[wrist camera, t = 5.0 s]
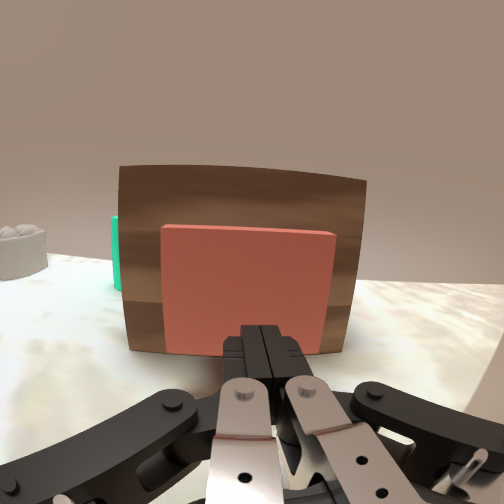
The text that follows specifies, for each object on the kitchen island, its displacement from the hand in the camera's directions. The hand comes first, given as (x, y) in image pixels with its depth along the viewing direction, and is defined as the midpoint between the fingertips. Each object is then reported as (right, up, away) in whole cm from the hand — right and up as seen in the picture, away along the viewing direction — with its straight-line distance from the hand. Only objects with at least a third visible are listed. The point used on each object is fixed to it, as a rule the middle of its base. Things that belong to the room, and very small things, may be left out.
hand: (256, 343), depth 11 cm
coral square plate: (-1, -2, +10) cm, 10 cm away
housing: (-2, -4, +18) cm, 19 cm away
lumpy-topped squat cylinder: (-45, 0, +26) cm, 53 cm away
